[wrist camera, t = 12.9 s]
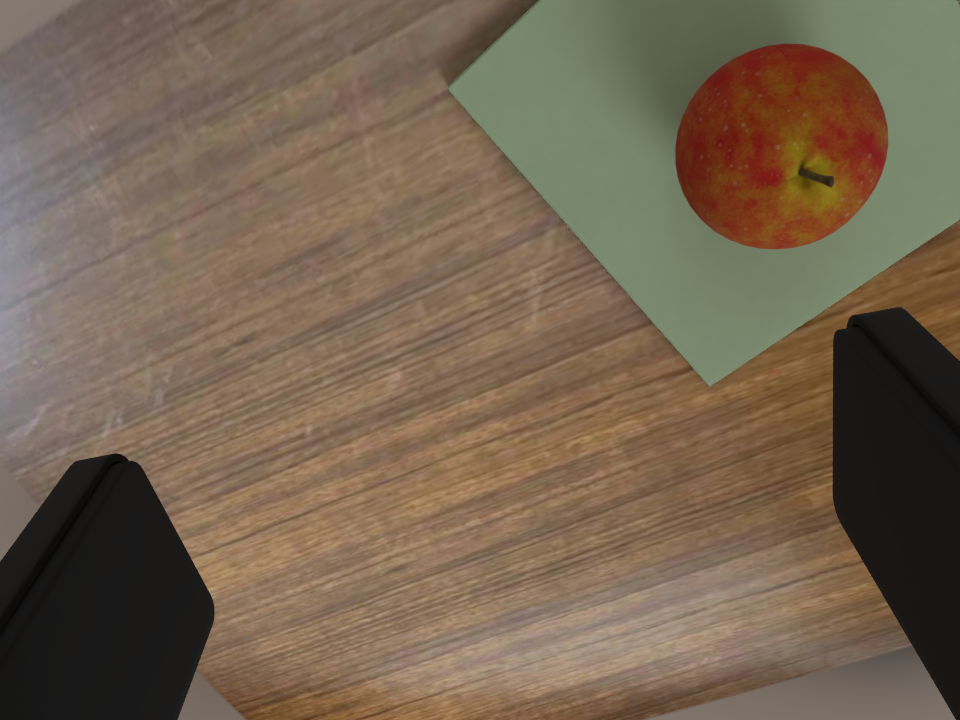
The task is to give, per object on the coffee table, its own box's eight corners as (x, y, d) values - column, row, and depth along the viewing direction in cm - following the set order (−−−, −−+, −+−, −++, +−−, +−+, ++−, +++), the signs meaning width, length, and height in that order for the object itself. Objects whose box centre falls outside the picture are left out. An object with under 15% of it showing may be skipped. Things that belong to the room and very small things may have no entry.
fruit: (667, 225, 33) (712, 307, 26) (651, 52, 30) (698, 94, 23) (838, 194, 32) (931, 271, 25) (842, 13, 29) (950, 44, 22)
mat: (447, 85, 31) (446, 89, 31) (806, -256, 26) (812, -259, 25) (706, 380, 38) (709, 387, 37) (1038, 157, 32) (1047, 161, 32)
